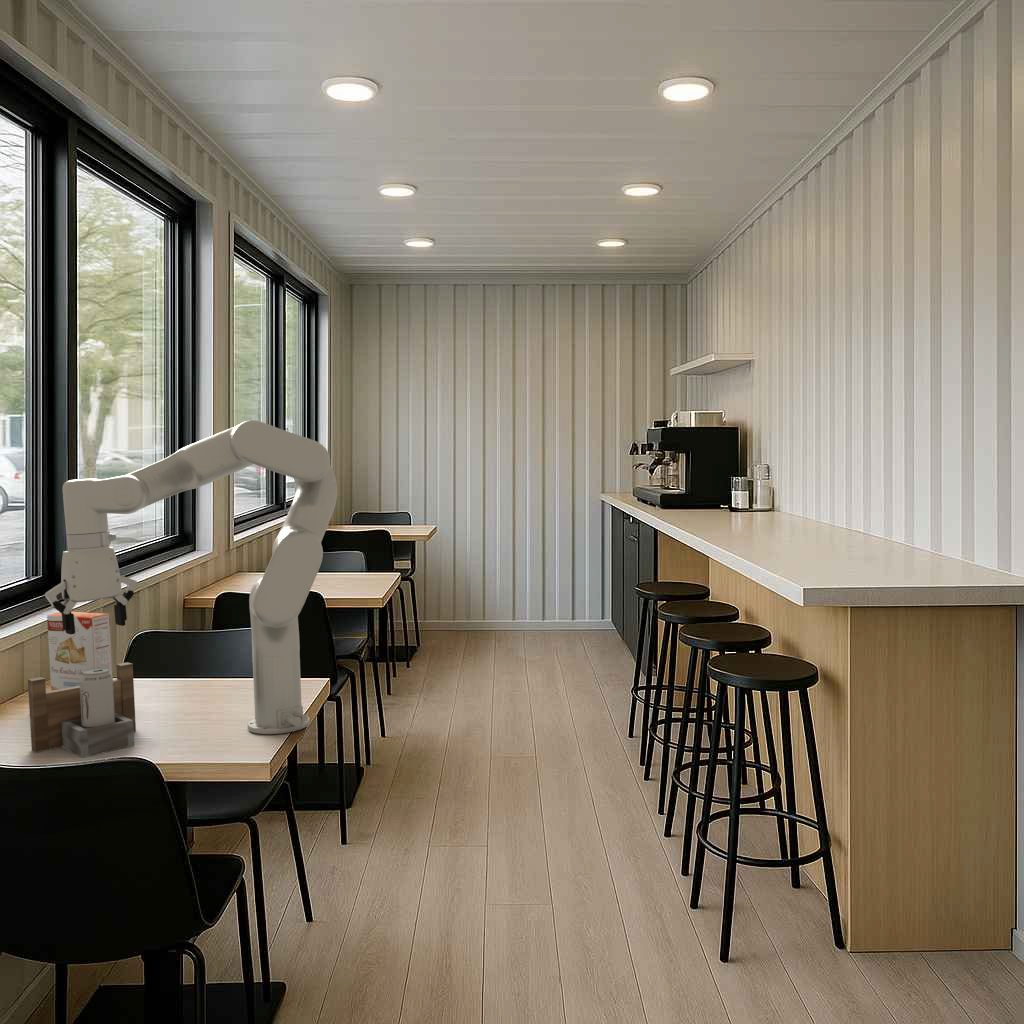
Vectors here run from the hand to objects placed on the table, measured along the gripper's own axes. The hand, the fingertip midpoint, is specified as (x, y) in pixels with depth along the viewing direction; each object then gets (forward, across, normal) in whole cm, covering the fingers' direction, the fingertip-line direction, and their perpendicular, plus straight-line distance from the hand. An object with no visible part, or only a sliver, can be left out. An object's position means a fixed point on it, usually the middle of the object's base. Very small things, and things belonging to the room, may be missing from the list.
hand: (96, 629), depth 186 cm
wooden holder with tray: (+23, +1, -2) cm, 23 cm away
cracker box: (+23, -11, -41) cm, 48 cm away
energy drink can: (+23, +1, 0) cm, 23 cm away
